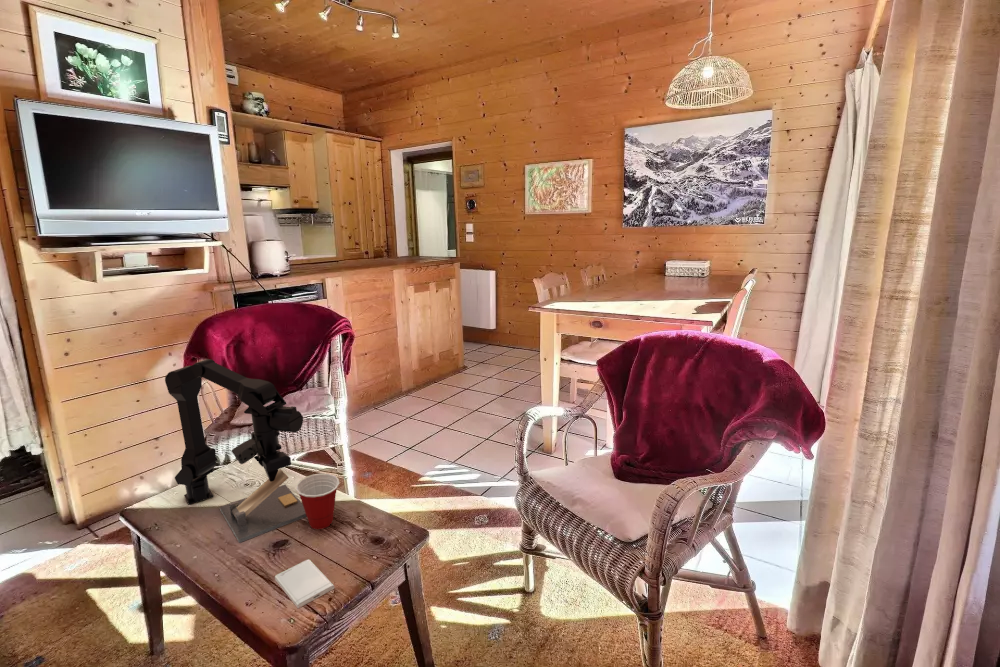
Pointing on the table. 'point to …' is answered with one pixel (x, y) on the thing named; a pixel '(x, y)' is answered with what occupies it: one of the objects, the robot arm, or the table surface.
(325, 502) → the plastic cup
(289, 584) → the hard drive
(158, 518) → the table surface
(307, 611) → the table surface
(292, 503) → the mounting plate
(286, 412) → the robot arm
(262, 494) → the lever
